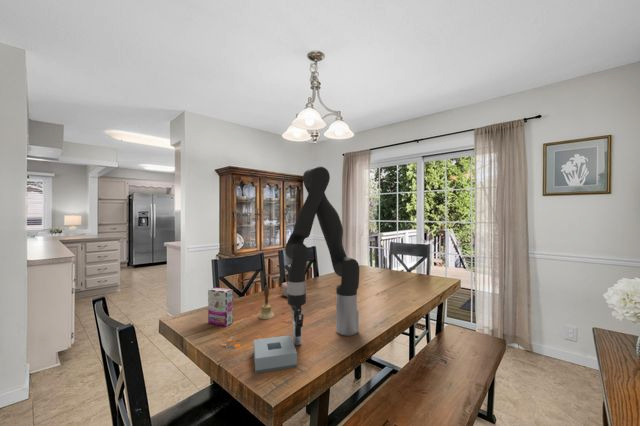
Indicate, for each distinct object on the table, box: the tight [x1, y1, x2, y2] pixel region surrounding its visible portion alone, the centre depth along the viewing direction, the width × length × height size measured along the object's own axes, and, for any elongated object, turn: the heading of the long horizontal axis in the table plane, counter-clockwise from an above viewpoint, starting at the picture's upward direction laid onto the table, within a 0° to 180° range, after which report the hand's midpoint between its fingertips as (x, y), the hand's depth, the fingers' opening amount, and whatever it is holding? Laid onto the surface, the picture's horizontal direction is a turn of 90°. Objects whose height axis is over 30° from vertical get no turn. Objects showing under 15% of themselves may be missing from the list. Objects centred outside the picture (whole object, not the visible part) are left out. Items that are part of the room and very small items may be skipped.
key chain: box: [218, 336, 241, 353], centre depth 113 cm, size 13×7×1 cm, turn 36°
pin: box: [291, 313, 303, 346], centre depth 112 cm, size 4×4×12 cm
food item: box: [281, 281, 288, 298], centre depth 175 cm, size 14×8×10 cm, turn 43°
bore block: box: [253, 335, 298, 374], centre depth 101 cm, size 14×14×5 cm
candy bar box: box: [207, 287, 234, 327], centre depth 134 cm, size 11×5×16 cm, turn 68°
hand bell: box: [257, 285, 276, 320], centre depth 143 cm, size 8×8×16 cm
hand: (297, 333), depth 113 cm, fingers closed on pin, 3 cm apart
